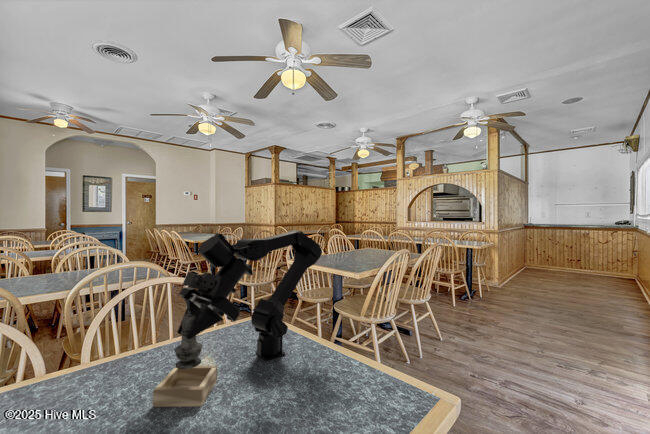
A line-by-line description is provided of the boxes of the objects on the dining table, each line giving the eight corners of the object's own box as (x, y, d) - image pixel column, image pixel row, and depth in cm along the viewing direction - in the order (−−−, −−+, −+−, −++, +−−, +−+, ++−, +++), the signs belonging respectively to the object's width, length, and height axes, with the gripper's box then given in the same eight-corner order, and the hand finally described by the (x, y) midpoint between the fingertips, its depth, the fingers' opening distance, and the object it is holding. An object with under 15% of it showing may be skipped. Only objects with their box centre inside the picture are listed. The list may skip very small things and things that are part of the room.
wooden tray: (175, 380, 71) (175, 366, 71) (217, 380, 71) (217, 365, 71) (152, 406, 61) (153, 389, 61) (201, 406, 61) (201, 389, 61)
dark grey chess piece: (200, 368, 64) (200, 314, 64) (170, 371, 63) (171, 315, 63) (204, 356, 70) (205, 306, 70) (177, 358, 68) (178, 307, 68)
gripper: (186, 255, 75) (138, 308, 66) (228, 262, 64) (177, 327, 55) (214, 281, 81) (173, 332, 73) (257, 291, 70) (214, 354, 61)
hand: (183, 336), depth 65 cm, fingers closed on dark grey chess piece, 4 cm apart
